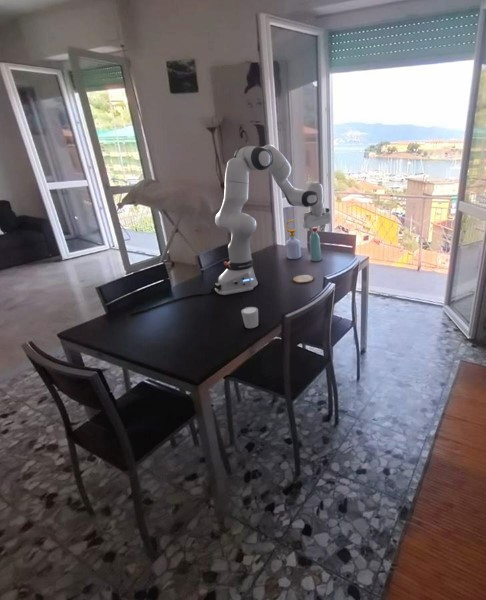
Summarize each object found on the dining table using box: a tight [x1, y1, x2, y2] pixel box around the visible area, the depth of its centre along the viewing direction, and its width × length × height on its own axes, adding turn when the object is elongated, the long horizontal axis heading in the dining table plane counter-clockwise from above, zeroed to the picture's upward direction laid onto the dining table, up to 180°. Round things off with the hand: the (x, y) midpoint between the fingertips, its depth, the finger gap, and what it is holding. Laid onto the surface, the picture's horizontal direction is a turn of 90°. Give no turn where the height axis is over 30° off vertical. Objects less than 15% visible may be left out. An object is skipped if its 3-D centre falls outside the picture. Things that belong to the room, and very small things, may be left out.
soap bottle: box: [285, 218, 302, 260], centre depth 227 cm, size 9×9×25 cm
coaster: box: [292, 274, 314, 284], centre depth 195 cm, size 11×11×1 cm
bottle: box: [308, 231, 322, 262], centre depth 222 cm, size 6×6×20 cm
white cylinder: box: [240, 306, 259, 329], centre depth 148 cm, size 7×7×7 cm
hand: (317, 232), depth 219 cm, fingers open, 7 cm apart
